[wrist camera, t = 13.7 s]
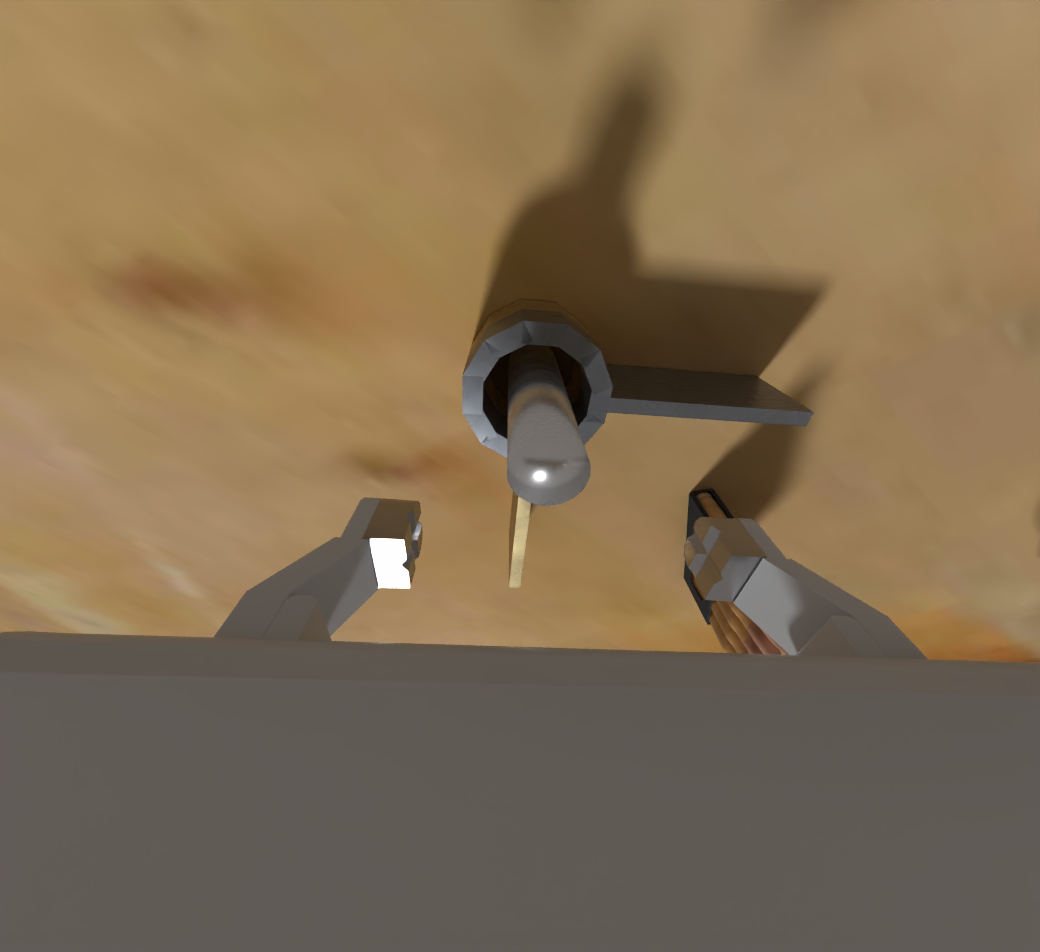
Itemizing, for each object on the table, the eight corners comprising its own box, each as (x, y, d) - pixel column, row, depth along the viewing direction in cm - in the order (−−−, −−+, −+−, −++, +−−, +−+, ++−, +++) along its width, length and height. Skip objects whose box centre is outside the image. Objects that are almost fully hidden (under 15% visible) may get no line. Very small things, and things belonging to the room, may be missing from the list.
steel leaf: (781, 321, 22) (851, 348, 17) (730, 432, 26) (776, 476, 22) (472, 294, 21) (462, 315, 16) (471, 414, 25) (462, 457, 20)
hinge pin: (559, 342, 22) (598, 439, 13) (552, 389, 24) (582, 507, 14) (510, 338, 22) (509, 433, 12) (507, 386, 24) (504, 503, 14)
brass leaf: (601, 306, 21) (626, 329, 17) (556, 536, 32) (564, 589, 27) (472, 294, 21) (462, 315, 16) (470, 532, 31) (463, 585, 27)
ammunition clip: (689, 491, 29) (780, 629, 19) (713, 487, 29) (817, 624, 19) (683, 578, 35) (751, 717, 25) (703, 575, 35) (779, 714, 25)
